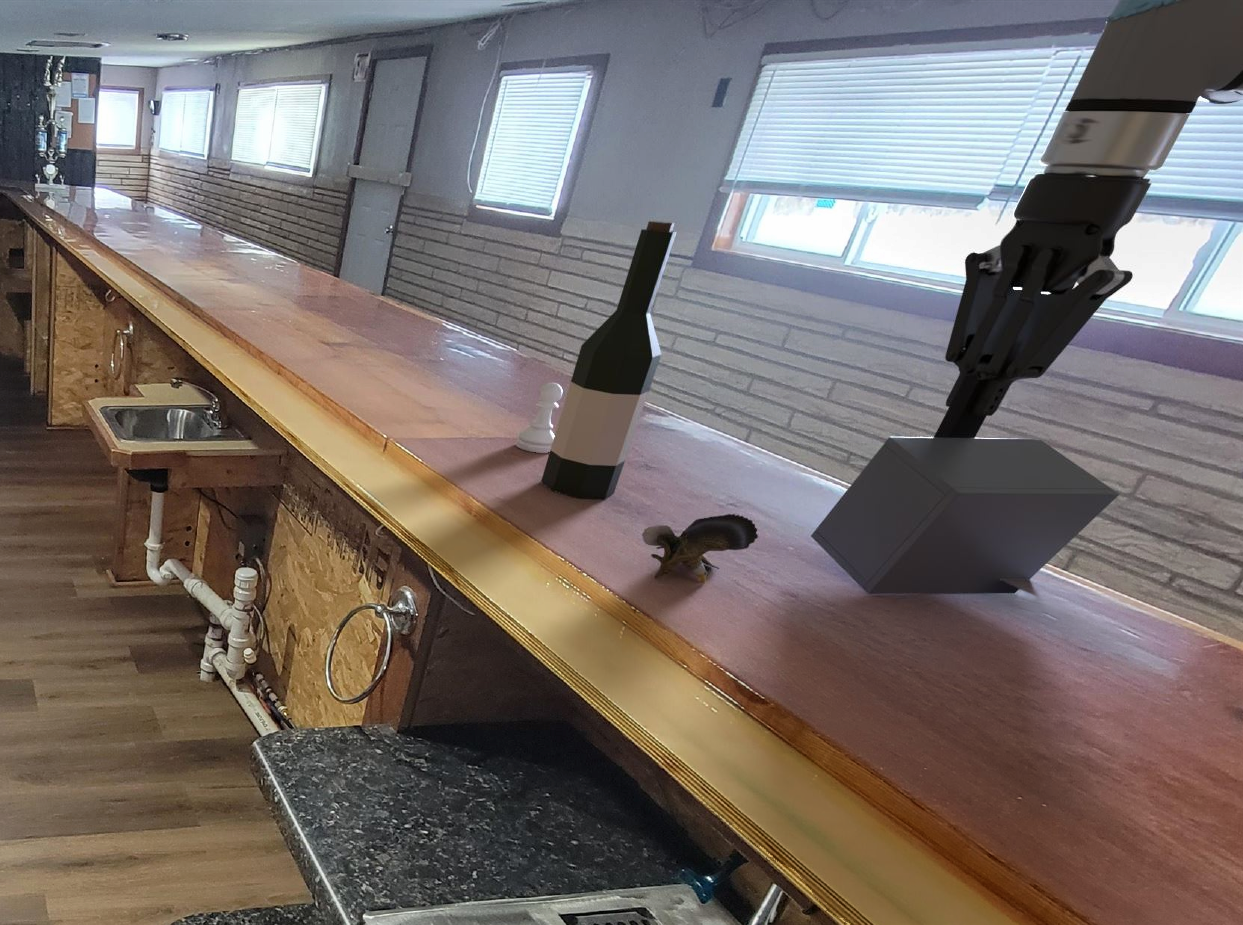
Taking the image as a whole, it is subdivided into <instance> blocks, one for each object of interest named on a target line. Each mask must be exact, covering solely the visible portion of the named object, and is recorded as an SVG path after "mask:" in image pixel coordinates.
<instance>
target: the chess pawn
mask: <svg viewBox="0 0 1243 925" xmlns="http://www.w3.org/2000/svg"><path fill="white" fill-rule="evenodd" d="M538 392H539V393H538V397H539V399H540V400H538V401H537V402H536V403H535V406H537V407H540V408H539V410H538V413H537V415H536V417H535V419H534V420H533V421H530V423H529V427H528V428H526V429H524V430H522V431H521V432H519V433H518V438H517V440H516V442H515V446H516V447H517V448H519V449H521V450H522V451H526V452H530V453H535V452H536V453H537V454H549V453H548V452H550V450H551V446H552V443H553V440H554V436H555V433H553V431H552V429H553V428H554V425H553V424H552V423H551V419H552V418H551V417H552V413H553V410H554V409H555V410H556V409H559V404H558V403H557V402H558V401H559V400H560V399H561V398H562V396H563V388H562V386H561V385H560V384H558V383H556V382H548V383H544V384H543V385H542V386H541V387H540V388H539V391H538ZM536 453H535V454H536Z"/></svg>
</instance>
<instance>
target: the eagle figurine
mask: <svg viewBox="0 0 1243 925" xmlns="http://www.w3.org/2000/svg"><path fill="white" fill-rule="evenodd" d="M757 532H758V528H757V527H756V524H755V523H753V520H752V519H749V518H748V517H744V515H739V514H736V513H728V514H724V515H715V516H709V517H702V518H701V517H700V518H697V519H695V520H694V521H693V522H692V523H691V524H690V525H688V527H687V528H685V530H683V531H682V533H681V534H680V535H676V534H675V532H674V530H672V528H671V527H670V526H669V525H662V524H661V525H654V526H648V527H647V528H644V530H643V532H642V534H641V536H642V540H643V542H644V543H645V545H647V546H653V547H656V548H655V549H656V550H659V549H664V550H663V551H664V552H663V556H660V555H659V554H656V553H651V554H650V556H651V558H652V559H656V560H657V561H659V563H660V566H659V569H658V571H657V572H656V574H655V576H654V579H656V580H657V579H659V578H662V577H664V576H665V575H669V574H670V573H671V572H672V571H673V570H674V569H675V568H676V567H677V566H678V565H679V564H681V565H682V566H684V568H687V569H689V570H690V571H692V573H693V574H694V575H695V576H696V577H697V578H698V579H700V581H701V583H702V584H705V583H706V577H707V575H708V572H707V570H706V568H705V566H704V565H706V566H710V567H712V568H715V569H717V570H720V567H719V566H717V565H715V564H713V563H712V562H711V561H709V560H708V558H707V556H706V555H705V554H706V553H708V552H724V551H725V552H726V551H729V550H730V551H741V550H745V549H748V548H749V547H750V545H751V544H753V543H755V540H757V539H758V538H759V536H758V535H759V534H758V533H757Z"/></svg>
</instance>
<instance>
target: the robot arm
mask: <svg viewBox="0 0 1243 925" xmlns="http://www.w3.org/2000/svg"><path fill="white" fill-rule="evenodd" d="M1198 101H1201V102H1207V103H1210V104H1213V105H1227V104H1233V103H1237V102H1240V101H1243V0H1118V2H1117V3H1116V5H1115V7H1114V8H1113V9H1112V12H1111V14H1110V15H1109V16H1108V17H1107V18H1106V21H1105V26H1104V28H1103V30H1102V32H1101V35H1100V37H1099V38H1098V41H1097V43H1096V45H1095V48H1094V50H1093V52H1092V54H1091V56H1090V58H1089V60H1088V62H1087V65H1086V66H1085V69H1084V71H1083V73H1082V75H1081V77H1080V79H1079V81H1078V83H1077V85H1076V87H1075V89H1074V91H1073V93H1072V96H1071V98H1070V101H1069V102H1068V104H1067V106H1066V107H1065V109H1064V111H1063V112H1062V114H1061V116H1060V119H1059V121H1058V122H1057V125H1056V127H1055V129H1054V130H1053V133H1052V135H1051V137H1050V139H1049V140H1048V143H1047V145H1046V147H1045V149H1044V151H1043V153H1042V155H1041V157H1040V159H1039V164H1040V165H1041V166H1045V167H1044V169H1043V172H1042V173H1035V174H1034V176H1032V177H1031V176H1030V178H1029V180H1028V181H1027V184H1026V186H1025V188H1024V190H1023V193H1022V194H1021V196H1020V197H1019V200H1018V202H1017V204H1016V206H1015V208H1014V210H1013V213H1012V216H1013V218H1014V219H1015V224H1014V225H1013V227H1012V228H1011V229H1010V230H1009V231H1008V232H1007V233H1006V234H1005V235H1004V236H1003V238H1002V239H1001V241H1000V242H999V244H998V245H996V246H994V247H992V248H990V249H988V250H986V251H983V252H978V251H977V252H976V251H973V252H970V253H969V254H968V255H967V256H966V257H965V260H964V266H965V267H964V270H965V282H964V286H963V290H962V294H961V297H960V301H959V305H958V308H957V312H956V316H955V319H954V323H953V326H952V330H951V333H950V338H949V341H948V345H947V349H946V352H945V356H944V359H945V361H946V362H948V363H953V364H954V365H955V366H956V367H957V368H958V372H959V374H958V375H957V376H958V377H957V378H956V380H955V382H954V384H953V386H952V388H951V390H950V392H949V394H948V396H947V398H946V400H945V407H948V408H947V410H946V412H945V414H944V416H943V418H942V420H941V422H940V424H939V425H938V427H937V430H936V432H935V434H934V436H933V438H976V436H977V434H978V433H979V431H980V429H981V427H982V425H983V423H984V421H985V420H986V418H987V417H992V416H993V415H994V414H995V413H996V412H997V411H998V409H999V407H1000V405H1001V403H1002V402H1003V399H1004V398H1005V396H1006V394H1007V392H1008V391H1009V389H1010V387H1011V385H1012V384H1013V383H1014V382H1016V381H1019V380H1027V379H1038V378H1041V377H1042V376H1043V375H1044V374H1045V373H1046V371H1048V369H1049V368H1050V367H1051V365H1052V364H1053V363H1054V362H1055V361H1056V359H1057V358H1058V357H1059V356H1060V355H1061V354H1062V352H1064V350H1065V349H1066V348H1067V347H1068V345H1069V344H1070V343H1071V342H1072V341H1073V340H1074V339H1075V337H1076V336H1077V335H1078V333H1079V332H1080V331H1081V330H1082V329H1083V327H1084V326H1085V325H1086V324H1087V323H1088V322H1089V320H1090V319H1091V318H1092V317H1093V316H1094V315H1095V313H1097V311H1098V310H1099V308H1100V307H1101V306H1102V305H1103V304H1104V302H1106V300H1107V299H1109V298H1110V297H1112V296H1113V295H1114V294H1116V293H1117V292H1118V291H1120V290H1121V289H1122V288H1124V287H1125V286H1126V285H1128V284H1129V283H1130V282H1131V281H1132V279H1133V277H1134V274H1133V272H1132V271H1131V270H1123V269H1119V268H1118V267H1117V265H1116V264H1115V263H1114V261H1113V260H1112V259H1111V256H1112V255H1113V253H1114V251H1115V242H1116V241H1115V240H1116V236H1117V234H1118V232H1119V231H1120V230H1121V229H1122V228H1123V227H1124V226H1126V225H1129V223H1131V221H1132V219H1133V218H1134V216H1135V215H1136V212H1137V210H1138V208H1139V207H1140V205H1141V203H1142V202H1143V200H1144V198H1145V196H1146V194H1147V192H1149V189H1150V188H1151V185H1152V182H1150V181H1151V179H1150V178H1145V176H1147V174H1148V173H1149V172H1150V171H1156V170H1159V169H1160V168H1162V167H1163V165H1164V164H1165V162H1166V159H1167V158H1168V156H1169V154H1170V152H1171V150H1172V149H1173V147H1174V146H1175V144H1176V141H1177V140H1178V137H1179V136H1180V134H1181V132H1182V130H1183V129H1184V126H1185V124H1186V123H1187V121H1188V119H1189V117H1190V115H1191V113H1193V111H1194V109H1195V108H1196V105H1197V103H1198ZM1076 284H1077V285H1076Z"/></svg>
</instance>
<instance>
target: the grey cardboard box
mask: <svg viewBox="0 0 1243 925" xmlns="http://www.w3.org/2000/svg"><path fill="white" fill-rule="evenodd" d="M1119 496H1120V493H1119V492H1117V491H1115V490H1114V489H1113V488H1112V487H1110V486H1108V485H1107V484H1106V483H1104V482H1103V481H1102V480H1099V479H1098V478H1096V477H1095V476H1094V475H1092V474H1091V473H1090V472H1088V471H1087V470H1085V469H1084V468H1082V467H1081V466H1079V465H1078V464H1076V463H1075V462H1074V461H1072V460H1071V459H1070V458H1068V457H1066V456H1065V455H1063V454H1062V453H1060V452H1059V451H1058V450H1056V449H1055V448H1054V447H1052V446H1051V445H1049V444H1048V443H1046V442H1044V441H1043V440H1042V439H1040V438H992V437H991V438H988V437H987V438H986V437H985V438H984V437H975V438H934V437H923V436H920V437H919V436H917V437H915V436H911V437H910V436H906V437H905V436H889V437H888V438H887V439H886V440H885V442H884V443H883V444H882V446H881V447H880V448H879V449H878V451H877V452H876V453H875V454H874V456H872V458H871V459H870V460H869V462H868V463H867V464H866V465H865V467H864V469H862V471H861V472H860V473H859V474H858V476H857V477H856V478H855V480H854V481H853V482H852V484H851V485H850V486H849V487H848V488H847V490H846V491H845V492H844V493H843V494H842V496H841V497H840V498H839V500H838V501H837V503H835V504H834V506H833V507H832V508H831V509H830V511H829V513H827V514H826V516H825V517H824V518H823V520H822V521H821V522H820V524H819V525H818V526H817V527H816V529H815V530H814V531H813V532H812V534H811V535H810V538H812V539H813V540H814V541H815V542H816V543H817V545H819V546H820V547H821V549H823V550H824V551H825V552H826V553H827V555H829V556H830V557H831V558H832V559H833V561H834V562H836V563H837V564H838V565H839V566H840V567H841V569H843V570H844V572H845V573H847V574H848V575H849V576H850V577H851V579H852V580H854V581H855V583H856V584H858V585H859V586H860V588H862V589H863V590H864V591H865V593H867V594H868V595H880V594H881V595H885V594H886V595H890V594H891V595H895V594H896V595H901V594H902V595H903V594H904V595H908V594H911V595H915V594H918V595H920V594H922V595H923V594H927V595H928V594H929V595H930V594H932V595H933V594H937V595H938V594H939V595H940V594H1016V593H1017V592H1019V590H1020V589H1021V588H1019V587H1017V586H1015V585H1013V584H1010V583H1009V582H1007V580H1015V581H1016V580H1031V579H1032V578H1033V577H1034V576H1035V575H1036V574H1037V573H1038V572H1039V571H1040V570H1042V569H1043V568H1044V567H1045V566H1046V565H1047V564H1048V563H1049V562H1050V561H1051V560H1052V559H1053V558H1054V557H1056V555H1057V554H1058V553H1059V552H1060V551H1062V549H1064V548H1065V547H1066V546H1067V545H1068V544H1069V543H1070V542H1071V541H1072V540H1073V539H1074V538H1075V537H1076V536H1078V535H1079V534H1080V533H1081V532H1082V531H1083V530H1084V529H1085V528H1086V527H1087V526H1088V525H1089V524H1090V523H1091V522H1092V521H1093V520H1094V519H1096V518H1097V516H1099V515H1100V514H1101V513H1102V512H1103V511H1104V510H1105V509H1106V508H1107V507H1108V506H1110V504H1111V503H1113V501H1114V500H1116V498H1118V497H1119ZM1004 580H1006V581H1004Z"/></svg>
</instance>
